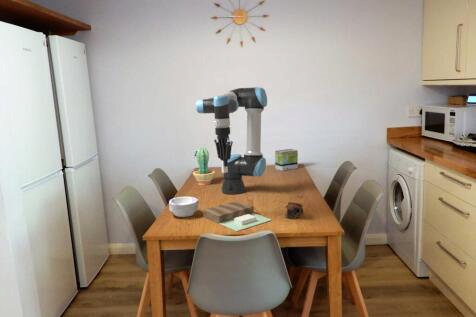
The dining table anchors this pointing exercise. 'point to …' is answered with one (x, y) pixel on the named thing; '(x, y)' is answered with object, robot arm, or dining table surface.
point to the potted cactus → (203, 167)
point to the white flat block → (245, 219)
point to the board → (227, 211)
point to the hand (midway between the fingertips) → (224, 172)
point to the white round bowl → (183, 206)
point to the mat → (238, 227)
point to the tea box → (286, 159)
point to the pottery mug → (293, 210)
